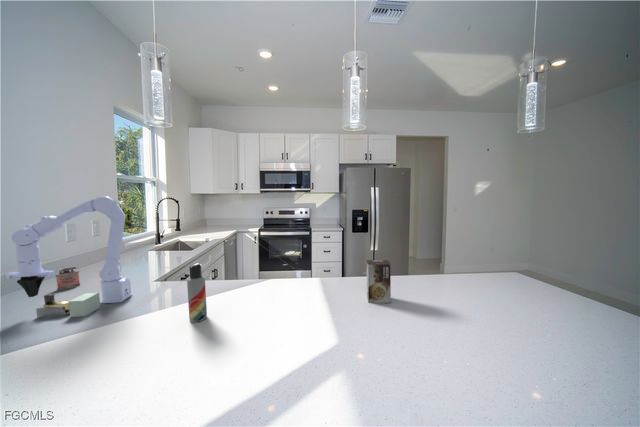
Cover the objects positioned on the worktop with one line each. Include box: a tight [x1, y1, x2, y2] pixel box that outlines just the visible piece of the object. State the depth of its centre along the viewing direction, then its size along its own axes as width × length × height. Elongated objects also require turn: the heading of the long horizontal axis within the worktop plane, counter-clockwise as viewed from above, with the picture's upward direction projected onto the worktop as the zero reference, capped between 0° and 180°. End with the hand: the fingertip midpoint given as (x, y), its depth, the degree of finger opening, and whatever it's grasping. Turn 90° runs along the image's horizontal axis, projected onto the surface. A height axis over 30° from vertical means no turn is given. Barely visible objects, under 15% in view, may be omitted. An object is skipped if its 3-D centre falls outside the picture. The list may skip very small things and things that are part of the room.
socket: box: [68, 292, 101, 318], centre depth 97 cm, size 5×7×6 cm
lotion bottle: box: [186, 263, 208, 323], centre depth 90 cm, size 6×6×20 cm
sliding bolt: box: [42, 293, 70, 311], centre depth 96 cm, size 9×3×6 cm, turn 96°
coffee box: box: [366, 259, 392, 304], centre depth 104 cm, size 9×6×16 cm
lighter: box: [55, 265, 81, 291], centre depth 122 cm, size 8×3×10 cm, turn 143°
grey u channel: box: [35, 300, 70, 319], centre depth 96 cm, size 9×5×4 cm, turn 96°
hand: (33, 296), depth 94 cm, fingers closed
